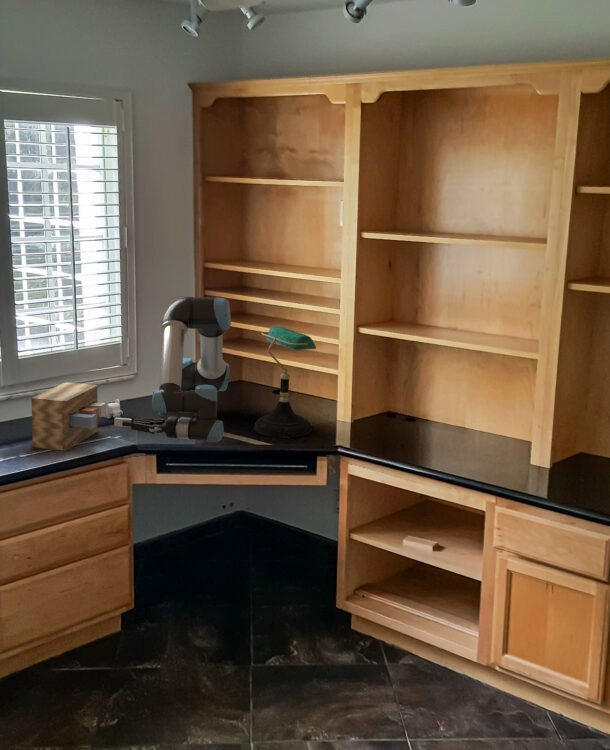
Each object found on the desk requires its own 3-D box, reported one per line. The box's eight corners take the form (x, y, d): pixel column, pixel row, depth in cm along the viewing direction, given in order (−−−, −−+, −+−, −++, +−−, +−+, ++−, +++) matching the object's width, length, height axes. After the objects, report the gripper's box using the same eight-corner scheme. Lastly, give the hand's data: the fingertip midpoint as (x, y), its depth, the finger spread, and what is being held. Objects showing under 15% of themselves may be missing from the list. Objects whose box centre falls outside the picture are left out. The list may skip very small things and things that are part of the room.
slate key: (96, 426, 313) (96, 414, 312) (91, 429, 309) (91, 417, 308) (65, 423, 315) (64, 411, 314) (59, 426, 311) (59, 414, 310)
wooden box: (97, 431, 334) (97, 385, 330) (66, 450, 309) (65, 401, 305) (65, 427, 336) (65, 382, 332) (32, 447, 311) (31, 397, 308)
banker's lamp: (325, 435, 342) (330, 334, 333) (273, 442, 330) (277, 337, 321) (291, 418, 364) (295, 323, 355) (241, 424, 352) (244, 326, 343)
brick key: (97, 419, 321) (97, 408, 320) (91, 422, 317) (91, 411, 316) (66, 416, 323) (66, 405, 322) (61, 419, 319) (60, 408, 318)
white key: (106, 414, 329) (105, 402, 328) (101, 417, 325) (101, 405, 324) (76, 411, 331) (76, 400, 330) (70, 414, 327) (70, 402, 326)
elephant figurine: (112, 421, 348) (112, 404, 346) (96, 417, 353) (96, 399, 352) (127, 418, 354) (127, 401, 352) (111, 413, 359) (111, 396, 358)
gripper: (172, 443, 300) (107, 436, 304) (184, 433, 313) (122, 427, 317) (172, 421, 299) (107, 415, 303) (185, 412, 311) (122, 406, 315)
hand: (115, 421), depth 310 cm, fingers closed
